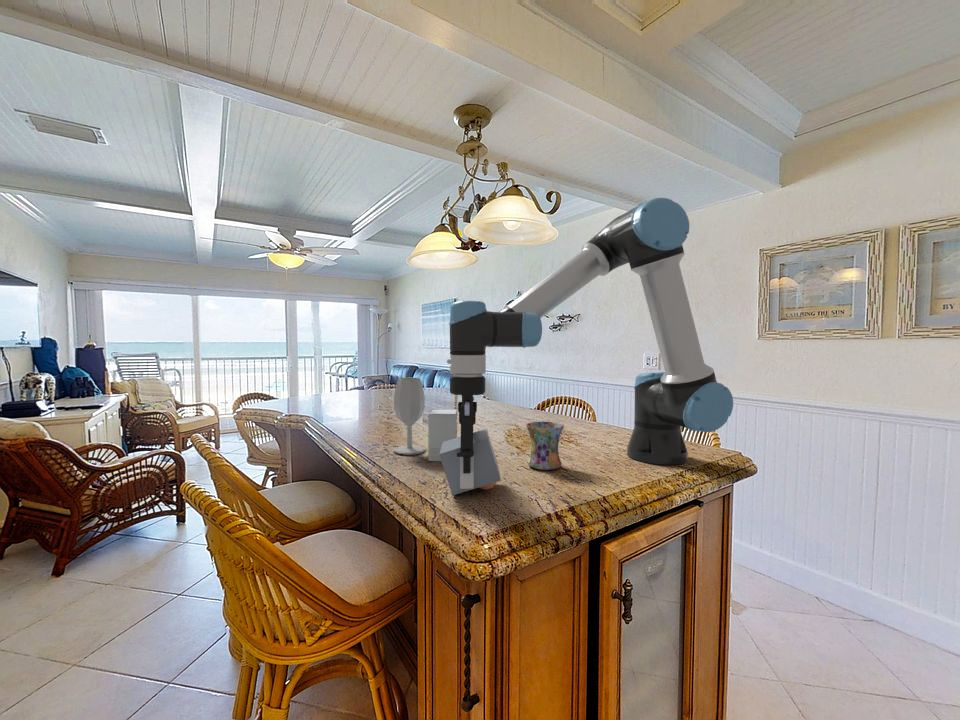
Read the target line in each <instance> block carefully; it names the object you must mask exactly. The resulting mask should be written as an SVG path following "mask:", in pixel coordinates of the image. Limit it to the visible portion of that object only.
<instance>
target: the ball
mask: <svg viewBox="0 0 960 720" xmlns="http://www.w3.org/2000/svg"><path fill="white" fill-rule="evenodd" d="M496 484H497V482H495V483H491V484H488V485H485V486H482V487H478V488H479V489H481V490H483V491H484V490H485V491H488V490H491V489H492V488H493V487H495V485H496Z"/></svg>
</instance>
